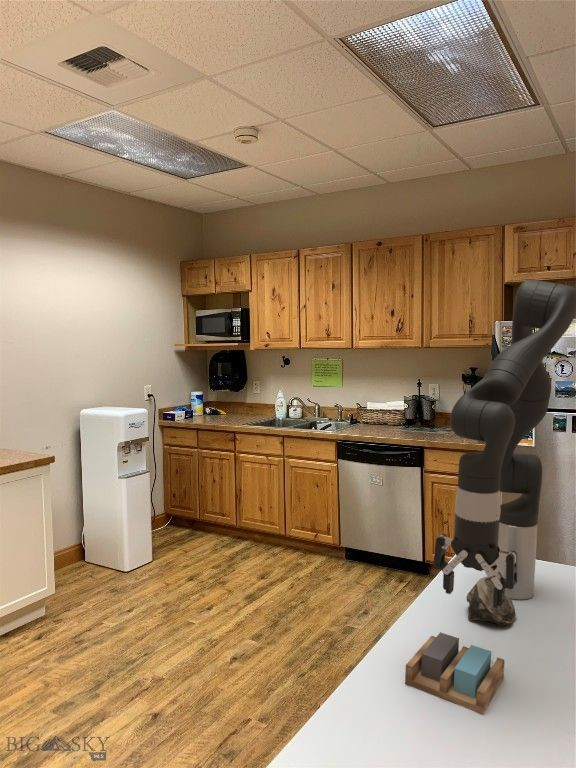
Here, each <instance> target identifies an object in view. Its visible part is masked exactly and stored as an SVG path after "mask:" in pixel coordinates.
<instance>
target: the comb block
mask: <svg viewBox="0 0 576 768" xmlns="http://www.w3.org/2000/svg"><path fill="white" fill-rule="evenodd" d="M436 637H437V636H434V635H430V637H429V638H428V639H427V640H426V641H425V643H424V644H423V645H421V647H420V648H418V650H417V651H416V652H415V653H414V655H412V657H411V658H410V659H409V661H408V662H407V663H405V672H404V673H405V677H404V678H405V680H404V682H405V683H404V684H405V685H407V686H410V687H413V688H414V689H415V688H416V689H418V690H420V691H423V692H425V693H429V695H430V694H431V695H433V696H436V697H438V698H441V699H443V700H446V701H448V702H452V703H454V704H456V705H459V706H461V707H464V708H466V709H469V710H471V711H474V712H477V713H479V714H482V715H484V713H485V712H486V710H487V708H488V707H489V705H490V703H491V701H492V700H493V697H494V696H495V694H496V693H497V691H498V689H499V688H500V686H501V683H502V682H503V680H504V676H505V659H504V658H501V657H496V659H495V661H494V662H493V664H492V665H491V669H490V670H489V672H488V674H487V675H486V677H485V679H484V680H483V682H482V683H481V685H480V687H479V688H478V690H477V696H476V697H475V698H473V697H470V696H467V695H465V694H462V693H459V692H457V691H454V671H455V667H456V666H457V664H458V663H459V661H460V660H461V659H462V657H463V656H464V654H465V653H466V652H467V650H468V649H469V647H467V646H462V647H461V649H459V651H458V654H457V655H456V657H455V658H454V659H453V661H452V662H451V663H450V665H449V666H448V667H447V669H446V670H445V671H444V673H443V674H442V675H441V677H440V682H438V681H435V680H432V679H430V678H427V677H424V676H422V675H421V665H422V653H423V652H424V651H425V650H426V648H427V647H428V646H429V645H430V644H431V643H432V641H433V640H434V639H435V638H436Z"/></svg>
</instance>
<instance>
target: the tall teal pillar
mask: <svg viewBox="0 0 576 768" xmlns="http://www.w3.org/2000/svg"><path fill="white" fill-rule="evenodd" d="M468 648H469V649H468V650H467V652H466V653H465V654H464V656H463V657H462V659H461V660H460V661H459V663H458V664H457V666H456V667H455V671H454V691H457V692H459V693H462V694H465V695H467V696H470V697H473V698H475V697H476V696H477V690H478V688H479V687H480V685H481V683H482V682H483V680H484V679H485V677H486V675H487V674H488V672H489V670H490V669H491V667H492V651H491V650H489V649H486V648H483V647H480V646H477V645H473V644H471V645H469V647H468Z"/></svg>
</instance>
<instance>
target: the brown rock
mask: <svg viewBox="0 0 576 768" xmlns="http://www.w3.org/2000/svg"><path fill="white" fill-rule="evenodd" d="M494 588H495V585H494V583H493V582H492V580H491V579H490V578H489V577H488V576H483V577H481V578H479V579H478V580H477V582H475V584H474V586H473V587H472V588H471V589H470V590H469V592H468V593H467V595H466V603H468V604H469V607H468V610H467V611H468V612H467V615H468V616H467V620H468V621H469V622H473V621H476V620H479V621H481V622H489V621H490V622H492V623H495V624H497V625H498V626H501V627H504V626H505V627H507V626H510V625H511V624H513V623H514V621H515V618H516V614H517V613H516V608H515V606H514V603H513V599H512V598H509V597H507V596H506V595H505V598H504V602H503V604H502V605H501V607H500V606H499V608H498V609H496V608H493V597H494Z"/></svg>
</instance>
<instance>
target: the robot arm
mask: <svg viewBox="0 0 576 768" xmlns="http://www.w3.org/2000/svg"><path fill="white" fill-rule="evenodd" d="M575 317H576V288H575V287H573V286H571V285H567V284H562V283H555V282H549V281H543V280H536V279H525V280H524V281H522V282H521V284H520V285H519V286H518V288H517V291H516V295H515V298H514V303H513V309H512V322H511V323H512V324H511V327H512V328H511V342H510V345H509V346H507V347H505V349H503V350H502V351H501V352H499V353H498V354H497V356H496V357H495V358H494V359H493V361H492V363H491V364H490V366H489V368H488V369H487V371H486V373H485V374H484V376H483V378H482V379H480V380H479V381H478V382H477V383H475V384H474V385H473V386H472V387H470V388H469V389H468V390H467V391H466V392H465V393H464V394H463V395H462V396H460V397H459V398H458V400H457V401H456V402H455V404H454V405H453V407H452V409H451V412H450V414H449V415H450V416H449V425H450V428H451V430H452V432H453V433H454V434H455V435H456V436H457V437H459V438H462V439H467V440H472V441H478V442H484V443H485V446H484V448H483V450H482V451H470V452H465V453H464V454H462V455H461V456H460V458H459V462H458V470H457V471H458V472H457V473H458V475H457V490H456V495H455V505H454V526H453V528H454V529H453V538H451V537H448V536H447V534H446V533H441V534H440V535H439V536H437V538H436V539H435V546H434V556H433V564H432V565H433V567H434V568H435V569H437V570H438V569H439V570H441V572H442V573H443V574H442V575H443V578H442V588H443V590H444V591H445V594H448V595H451V594H452V593H453V592H454V587H455V585H454V584H455V571H454V569H455V568H456V567H457V566H458V565H459V564H462V565H463V567H464V568H467V569H468V568H469V569H474V570H476V571H479V572H482V571H484V573H485V574H486V577H489V578H490V579H491V580H492V582H493V583H494V585H495V588H494V597H493V608H496V609H498V608H499V606H500V607H501V605H502V604H503V602H504V598H505V595H506V596H507V597H509V598H510V599H511V600H529V599H531V598H532V597H533V596H534V593H535V592H534V591H535V590H534V589H535V578H536V577H535V576H536V575H535V574H536V559H537V542H538V541H537V540H538V522H539V519H538V518H539V513H540V502H541V501H540V500H541V490H542V482H543V464H542V461H541V457H539V456H538V455H537V454H531V453H514V452H515V450H516V448H517V447H518V445H519V443H520V442H521V441H522V440H523V439H524V438H525V437H526V436H527V435H529V433H530V432H532V430H534V429H535V428H536V427H537V426H538V425H540V423H541V422H542V421H543V420H544V418H545V416H546V414H547V412H548V408H549V403H550V398H551V393H552V382H551V379H550V376H549V373H548V371H547V368H546V367H545V365H544V363H543V360H544V359H545V357H546V356H547V355H548V354H549V353H550V352H551V351H552V349H553V348H554V347H555V346H556V345H557V343H558V342H559V341H560V339H561V338H562V337H563V336H564V334H565V333H566V332H567V331H568V329H569V328H570V326H571V324H573V323H572V322H573V321H574V319H575ZM533 329H537V330H536V331H534V330H533ZM533 331H534V332H533ZM501 493H507V494H509V493H510V494H521V495H520V496H519V497H517V498H515V499H514V500H512V501H509V502H506V503H502V504H501ZM450 546H451V549H452V550H453V552H454V554H455V557H454V558H453V559H451V561H450V562H448V561H445V560H446V553H447V549H448V548H449V547H450Z"/></svg>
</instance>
